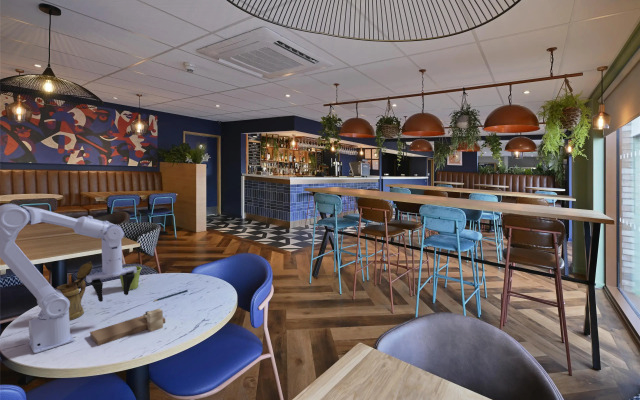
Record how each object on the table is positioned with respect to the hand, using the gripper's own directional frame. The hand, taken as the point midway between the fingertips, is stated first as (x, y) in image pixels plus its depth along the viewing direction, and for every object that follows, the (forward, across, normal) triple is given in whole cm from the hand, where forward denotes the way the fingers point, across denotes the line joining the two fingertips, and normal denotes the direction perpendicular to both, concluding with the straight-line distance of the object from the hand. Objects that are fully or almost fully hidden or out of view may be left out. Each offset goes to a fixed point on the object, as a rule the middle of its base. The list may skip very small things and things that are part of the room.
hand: (113, 297), depth 109 cm
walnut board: (+9, +2, -8) cm, 13 cm away
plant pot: (+10, +16, +32) cm, 37 cm away
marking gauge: (+9, +8, -11) cm, 16 cm away
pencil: (+10, +24, +10) cm, 28 cm away
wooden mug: (+10, -7, +19) cm, 22 cm away
